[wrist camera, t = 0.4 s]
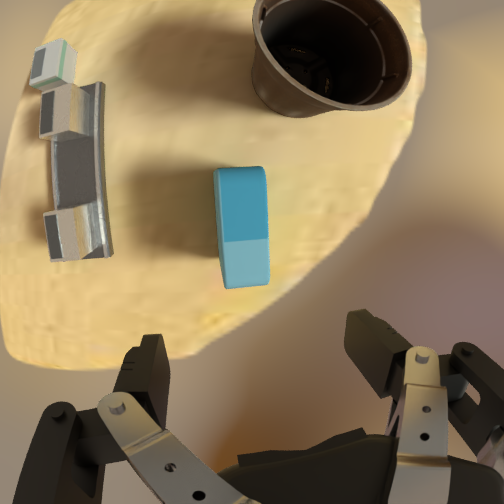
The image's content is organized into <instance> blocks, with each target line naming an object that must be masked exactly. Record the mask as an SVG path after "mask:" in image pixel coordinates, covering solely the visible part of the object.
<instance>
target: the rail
mask: <svg viewBox="0 0 504 504" xmlns="http://www.w3.org/2000/svg"><path fill="white" fill-rule="evenodd" d="M104 100H105V84H104V83H103V82H96V83H95V84H91V85H87V86H83V87H78V86H76V85H75V84H73V83H69V84H65V85H62V86H59V87H56V88H53V89H50V90H47V91H44V92H42V95H41V106H40V123H39V138H40V139H46V140H51V170H52V187H53V199H54V209H55V210H52V211H48V212H45V213H43V218H44V225H45V232H46V239H47V245H48V250H49V256H50V261H51V262H59V261H63V262H65V261H71V260H81V259H91V258H103V257H105V258H108V257H111V256H112V255H113V254H114V252H113V246H112V238H111V231H110V223H109V214H108V204H107V193H106V179H105V159H104Z"/></svg>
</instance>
